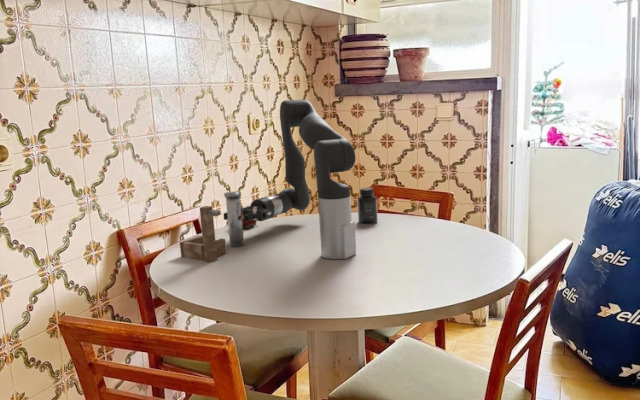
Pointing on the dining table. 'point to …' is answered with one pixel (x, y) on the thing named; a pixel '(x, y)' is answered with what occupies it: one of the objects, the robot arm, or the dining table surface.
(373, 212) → the supplement bottle
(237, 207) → the pin
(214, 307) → the dining table surface
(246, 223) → the fruit
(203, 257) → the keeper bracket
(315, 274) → the dining table surface
